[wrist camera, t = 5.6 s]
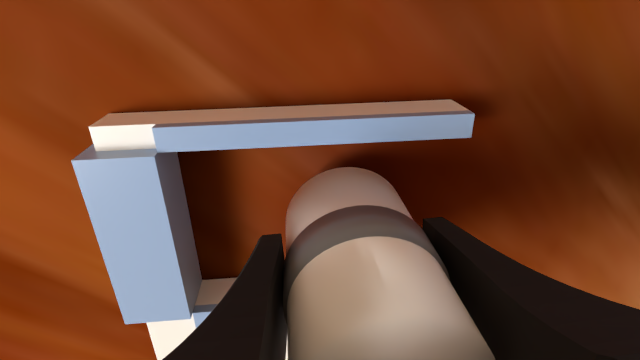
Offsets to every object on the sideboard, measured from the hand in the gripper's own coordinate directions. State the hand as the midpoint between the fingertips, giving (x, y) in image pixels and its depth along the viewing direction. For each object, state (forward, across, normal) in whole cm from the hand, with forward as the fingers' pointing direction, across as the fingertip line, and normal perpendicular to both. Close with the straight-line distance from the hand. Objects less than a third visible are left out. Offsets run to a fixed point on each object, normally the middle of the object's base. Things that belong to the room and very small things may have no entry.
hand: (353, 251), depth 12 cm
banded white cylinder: (+2, 0, 0) cm, 2 cm away
